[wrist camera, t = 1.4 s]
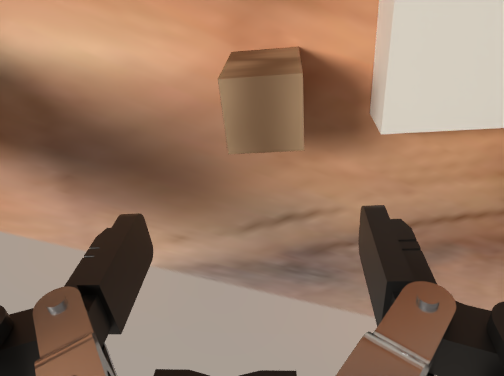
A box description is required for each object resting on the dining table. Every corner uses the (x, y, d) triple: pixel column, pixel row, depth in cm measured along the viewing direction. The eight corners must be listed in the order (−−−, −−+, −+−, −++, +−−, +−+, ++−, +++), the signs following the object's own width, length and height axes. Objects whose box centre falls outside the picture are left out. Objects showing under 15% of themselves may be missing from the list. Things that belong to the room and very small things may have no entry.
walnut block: (238, 115, 31) (228, 154, 25) (231, 51, 28) (217, 79, 22) (300, 111, 30) (304, 150, 24) (298, 46, 27) (302, 73, 22)
